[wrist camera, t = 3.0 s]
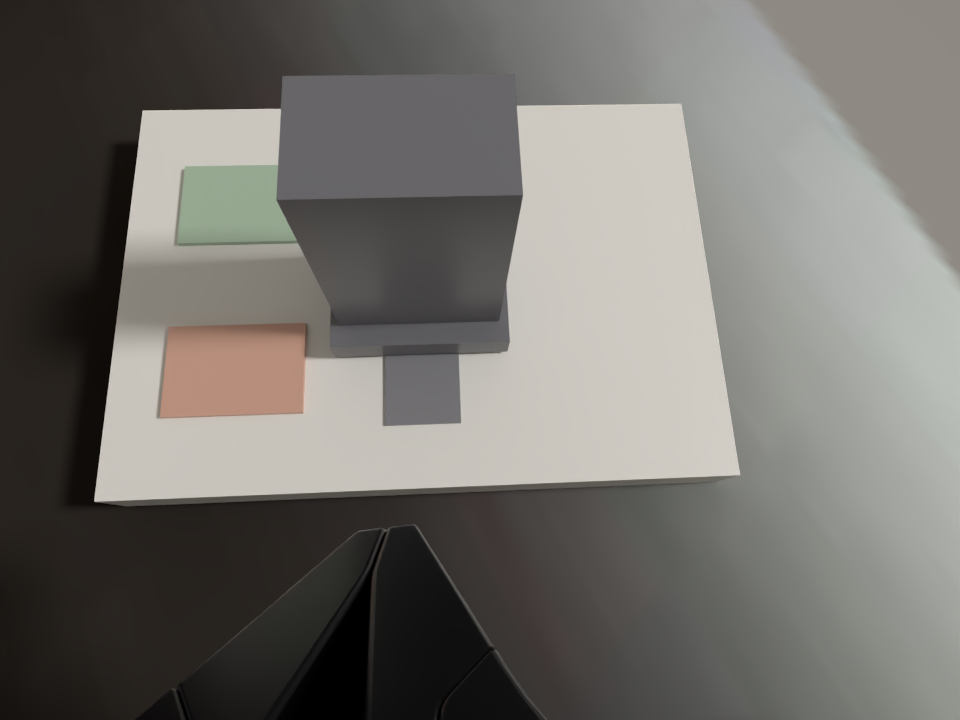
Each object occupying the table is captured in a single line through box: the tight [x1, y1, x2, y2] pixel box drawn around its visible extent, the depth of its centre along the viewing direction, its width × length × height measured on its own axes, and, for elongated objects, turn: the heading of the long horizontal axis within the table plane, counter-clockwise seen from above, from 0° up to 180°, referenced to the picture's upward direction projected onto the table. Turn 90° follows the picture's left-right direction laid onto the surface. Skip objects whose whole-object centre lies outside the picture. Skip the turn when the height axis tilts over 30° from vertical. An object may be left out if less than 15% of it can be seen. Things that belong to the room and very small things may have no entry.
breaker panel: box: [94, 104, 740, 506], centre depth 23 cm, size 14×20×2 cm
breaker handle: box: [276, 74, 523, 357], centre depth 18 cm, size 4×6×8 cm
